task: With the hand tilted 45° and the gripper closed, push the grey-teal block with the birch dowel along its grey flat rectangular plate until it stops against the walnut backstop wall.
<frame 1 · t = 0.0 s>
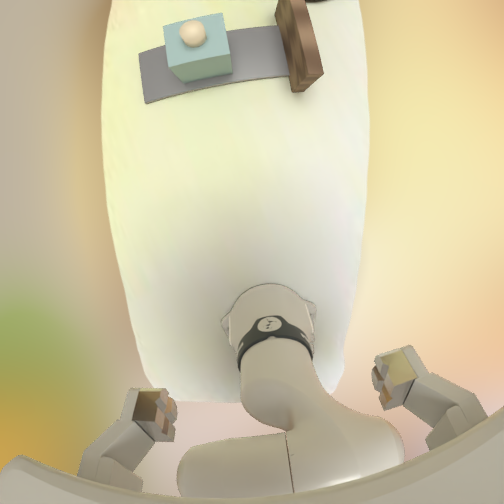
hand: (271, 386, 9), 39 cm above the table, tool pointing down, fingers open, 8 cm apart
grey flat rectangular plate: (211, 60, 37), on the table
dowel block: (199, 46, 30), point 7 cm above the table, slide at 0.0 cm
backstop wall: (289, 50, 37), on the table
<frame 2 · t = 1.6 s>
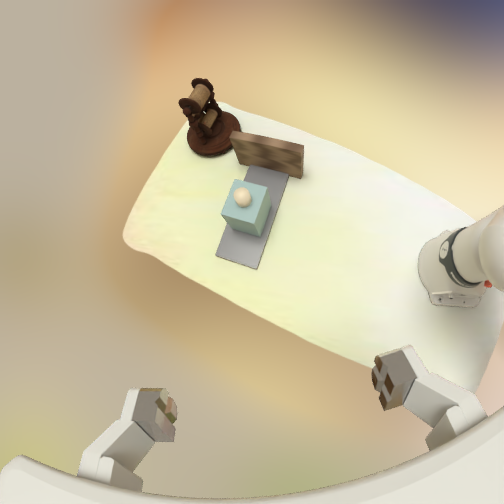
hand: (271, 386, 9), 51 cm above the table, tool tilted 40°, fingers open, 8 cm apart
grey flat rectangular plate: (253, 214, 65), on the table
scroll: (215, 136, 72), on the table
dowel block: (247, 206, 58), point 7 cm above the table, slide at 0.0 cm
backstop wall: (270, 167, 67), on the table
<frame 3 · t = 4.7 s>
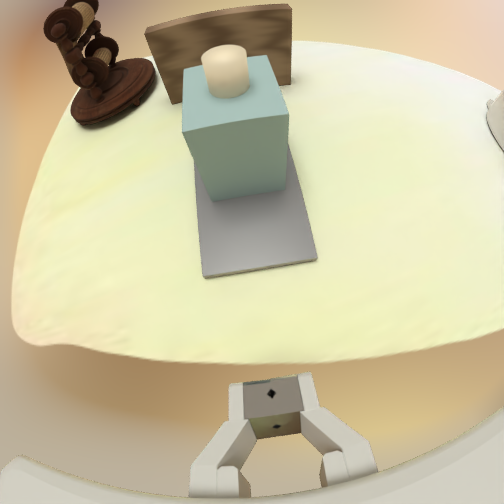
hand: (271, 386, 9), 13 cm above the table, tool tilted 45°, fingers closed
grey flat rectangular plate: (242, 159, 28), on the table
scroll: (116, 97, 35), on the table
dowel block: (234, 117, 21), point 7 cm above the table, slide at 0.0 cm
backstop wall: (230, 87, 32), on the table
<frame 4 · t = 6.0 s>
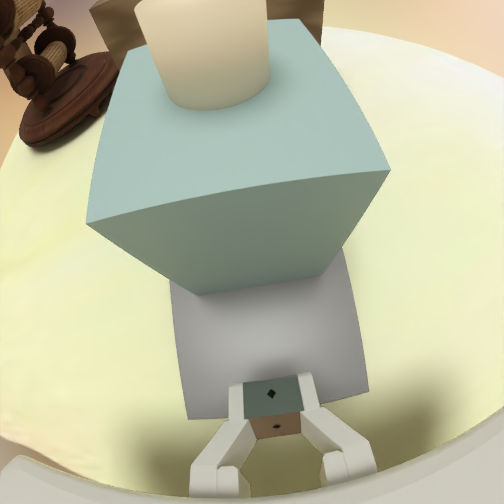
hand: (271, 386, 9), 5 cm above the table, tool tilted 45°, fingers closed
grey flat rectangular plate: (247, 210, 17), on the table
scroll: (75, 105, 24), on the table
dowel block: (233, 148, 10), point 7 cm above the table, slide at 0.0 cm
backstop wall: (226, 86, 21), on the table
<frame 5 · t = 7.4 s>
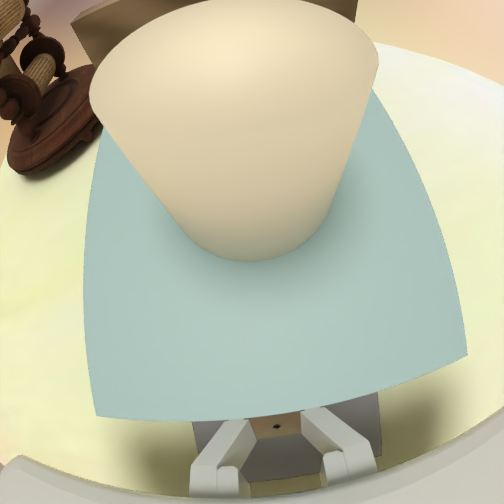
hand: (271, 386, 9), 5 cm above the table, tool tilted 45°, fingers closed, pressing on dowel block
grey flat rectangular plate: (263, 273, 16), on the table
scroll: (67, 124, 22), on the table
dowel block: (259, 244, 8), point 7 cm above the table, slide at 0.1 cm, touching gripper
backstop wall: (236, 110, 20), on the table
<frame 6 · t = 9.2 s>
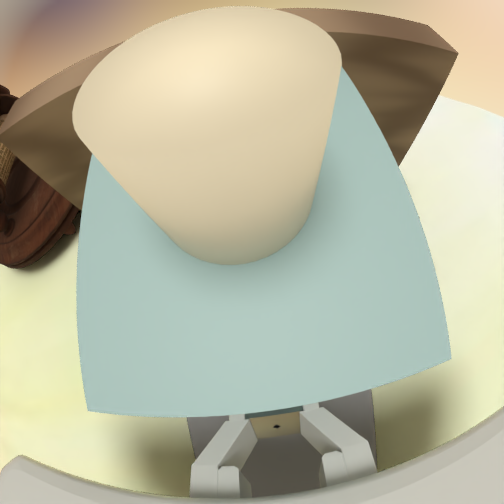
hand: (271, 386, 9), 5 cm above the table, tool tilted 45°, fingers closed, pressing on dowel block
grey flat rectangular plate: (282, 426, 13), on the table
scroll: (46, 195, 20), on the table
dowel block: (249, 247, 8), point 7 cm above the table, slide at 9.0 cm, touching backstop wall, gripper
backstop wall: (248, 210, 17), on the table
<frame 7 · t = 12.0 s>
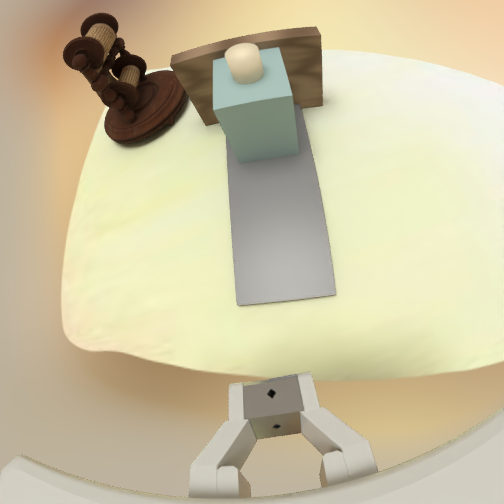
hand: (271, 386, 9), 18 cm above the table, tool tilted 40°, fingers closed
grey flat rectangular plate: (274, 192, 31), on the table
scroll: (149, 111, 38), on the table
dowel block: (255, 97, 25), point 7 cm above the table, slide at 9.0 cm, touching backstop wall
backstop wall: (262, 108, 34), on the table
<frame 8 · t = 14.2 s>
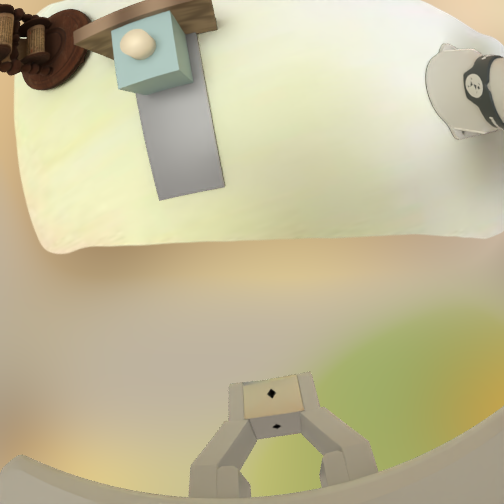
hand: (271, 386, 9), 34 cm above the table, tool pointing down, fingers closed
grey flat rectangular plate: (175, 114, 35), on the table
scroll: (60, 50, 27), on the table
dowel block: (152, 54, 25), point 7 cm above the table, slide at 9.0 cm, touching backstop wall
backstop wall: (162, 37, 29), on the table
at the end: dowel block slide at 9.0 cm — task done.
